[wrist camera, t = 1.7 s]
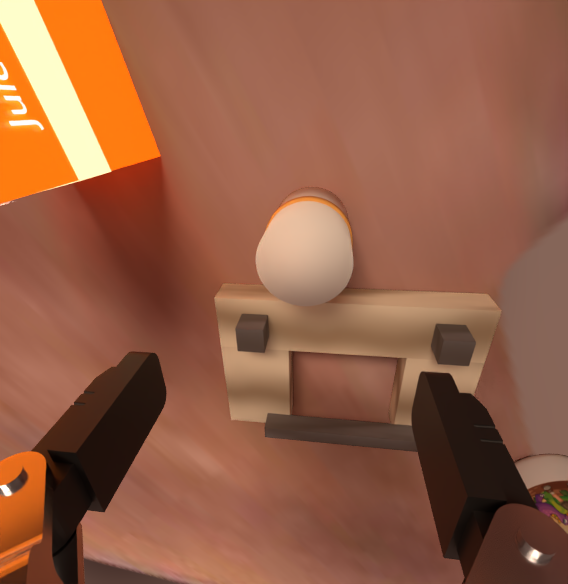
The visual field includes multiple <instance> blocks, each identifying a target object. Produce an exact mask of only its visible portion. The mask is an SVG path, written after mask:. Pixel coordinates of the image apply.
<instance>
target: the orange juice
mask: <svg viewBox="0 0 568 584" xmlns="http://www.w3.org/2000/svg"><path fill="white" fill-rule="evenodd" d="M156 157H160V153H159V151H158V148H157V145H156V143H155V140H154V138H153V135H152V132H151V130H150V127H149V124H148V122H147V119H146V117H145V114H144V111H143V109H142V106H141V104H140V101H139V98H138V96H137V93H136V91H135V88H134V85H133V83H132V80H131V77H130V75H129V72H128V70H127V67H126V64H125V62H124V59H123V57H122V54H121V51H120V49H119V46H118V44H117V41H116V38H115V36H114V33H113V30H112V28H111V25H110V23H109V20H108V17H107V15H106V12H105V10H104V7H103V4H102V2H101V0H0V203H3V202H6V203H7V201H10V200H14V199H17V198H20V197H24V196H27V195H31V194H34V193H38V192H41V191H45V190H49V189H52V188H56V187H60V186H63V185H67V184H71V183H74V182H78V181H82V180H85V179H88V178H92V177H95V176H98V175H102V174H105V173H109V172H111V171H112V170H115V169H119V168H122V167H126V166H129V165H132V164H136V163H139V162H143V161H146V160H149V159H153V158H156ZM13 202H14V201H13ZM6 203H5V204H6ZM3 204H4V203H3ZM1 205H2V204H1Z"/></svg>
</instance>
